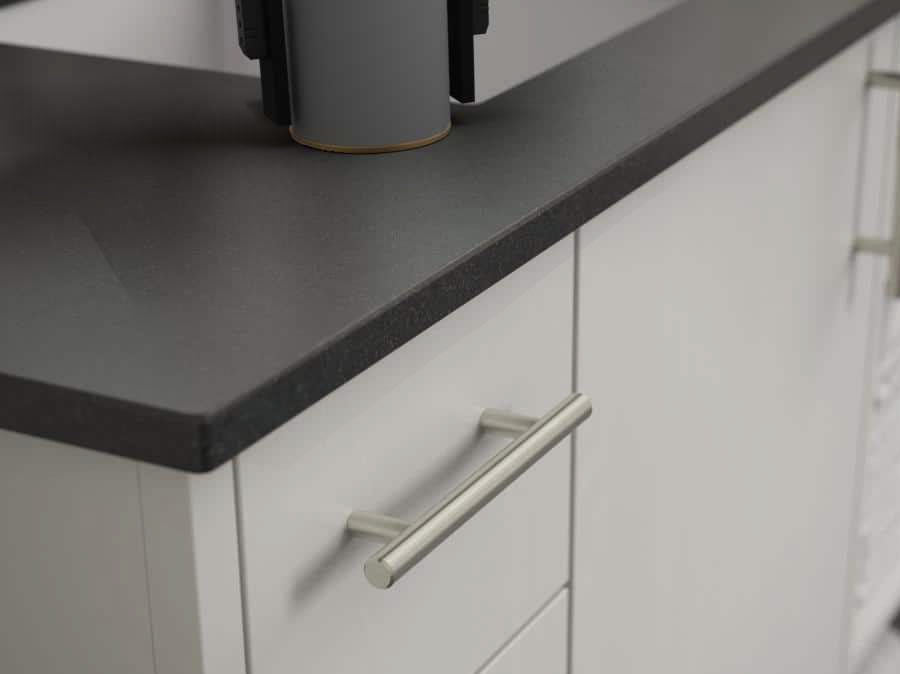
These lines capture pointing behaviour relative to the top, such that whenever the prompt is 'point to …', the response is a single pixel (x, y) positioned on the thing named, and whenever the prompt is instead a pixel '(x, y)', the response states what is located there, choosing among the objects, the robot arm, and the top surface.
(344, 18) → the cup
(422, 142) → the cork coaster
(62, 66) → the top surface
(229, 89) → the top surface
